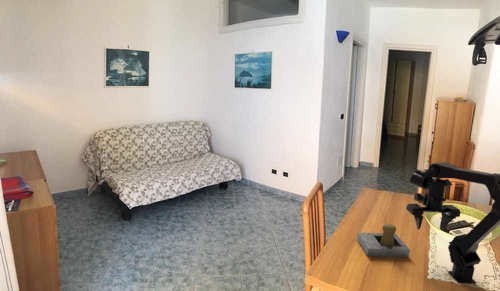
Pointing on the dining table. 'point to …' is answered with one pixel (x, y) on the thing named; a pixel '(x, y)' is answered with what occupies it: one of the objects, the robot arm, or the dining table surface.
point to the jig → (375, 249)
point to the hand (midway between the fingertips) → (429, 229)
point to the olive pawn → (388, 235)
